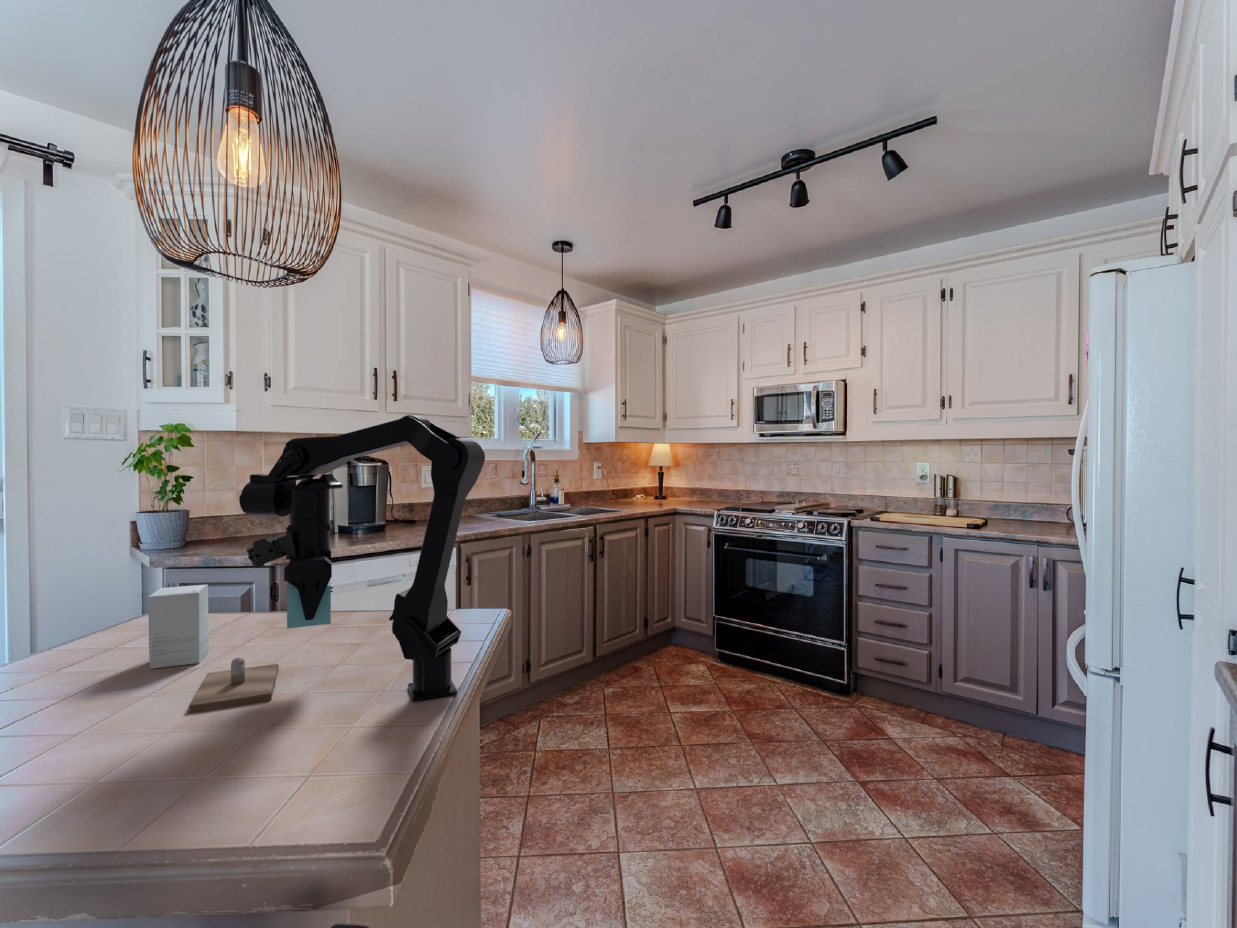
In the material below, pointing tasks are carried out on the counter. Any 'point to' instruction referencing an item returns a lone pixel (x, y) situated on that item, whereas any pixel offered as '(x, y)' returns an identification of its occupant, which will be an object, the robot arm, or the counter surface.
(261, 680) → the pin plate
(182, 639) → the supplement box
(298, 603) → the square socket block
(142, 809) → the counter surface
